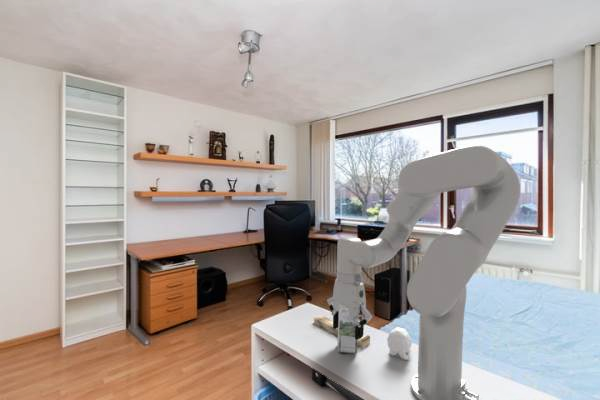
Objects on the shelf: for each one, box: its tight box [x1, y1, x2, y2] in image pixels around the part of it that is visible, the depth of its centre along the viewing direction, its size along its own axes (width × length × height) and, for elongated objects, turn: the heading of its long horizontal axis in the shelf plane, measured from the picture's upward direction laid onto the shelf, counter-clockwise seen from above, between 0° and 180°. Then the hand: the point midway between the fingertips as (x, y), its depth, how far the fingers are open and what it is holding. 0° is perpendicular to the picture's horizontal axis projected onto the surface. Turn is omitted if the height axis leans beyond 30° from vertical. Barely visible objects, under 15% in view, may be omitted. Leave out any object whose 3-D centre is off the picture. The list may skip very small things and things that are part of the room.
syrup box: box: [337, 303, 358, 354], centre depth 86 cm, size 6×6×14 cm
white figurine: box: [386, 326, 412, 361], centre depth 85 cm, size 6×8×12 cm
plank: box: [313, 314, 371, 349], centre depth 97 cm, size 22×4×2 cm, turn 42°
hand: (347, 332), depth 86 cm, fingers closed on syrup box, 8 cm apart
